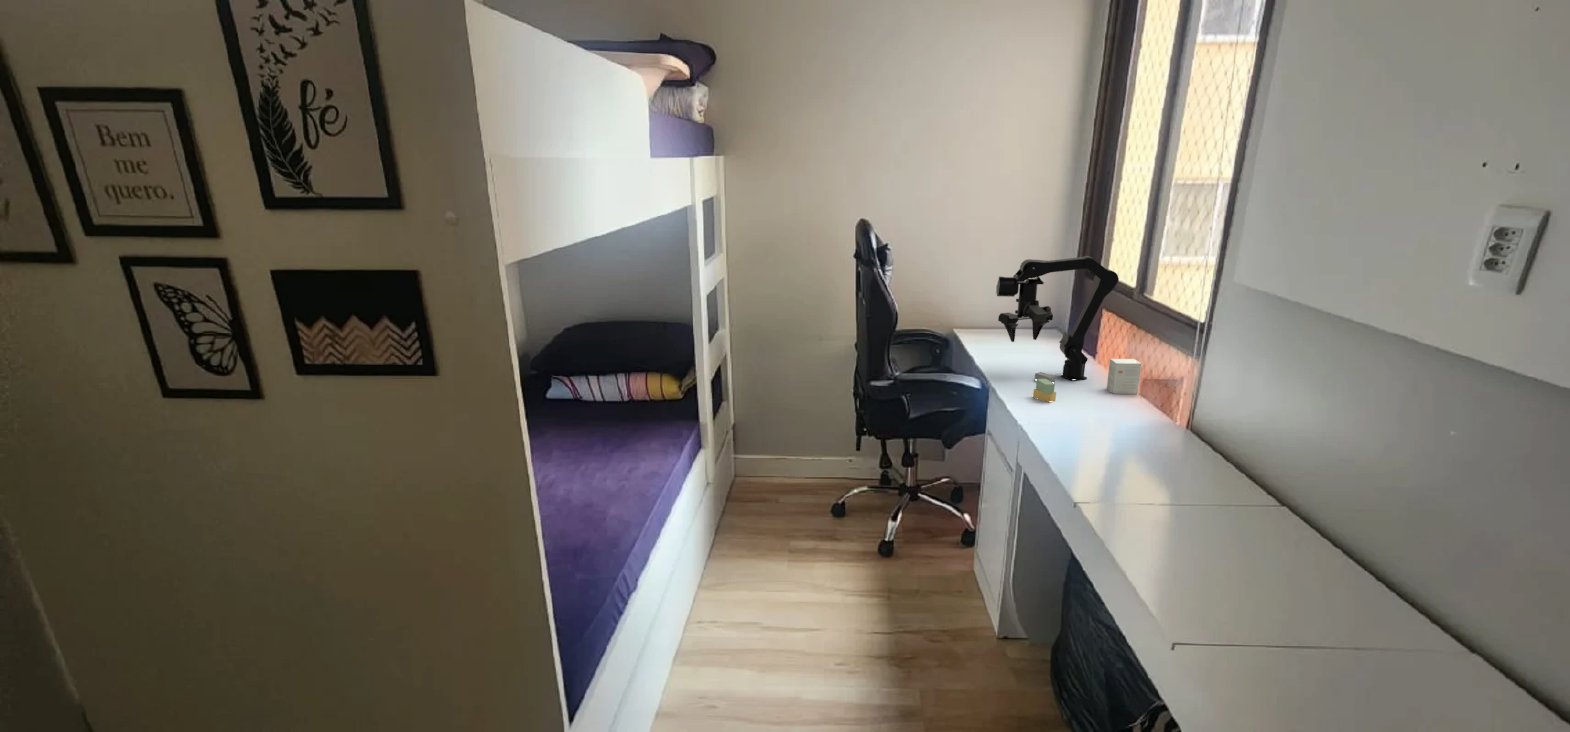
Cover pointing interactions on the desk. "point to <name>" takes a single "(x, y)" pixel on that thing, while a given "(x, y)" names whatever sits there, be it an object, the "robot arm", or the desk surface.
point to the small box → (1123, 376)
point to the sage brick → (1045, 386)
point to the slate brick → (1045, 376)
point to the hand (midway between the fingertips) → (1023, 340)
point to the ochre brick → (1044, 395)
